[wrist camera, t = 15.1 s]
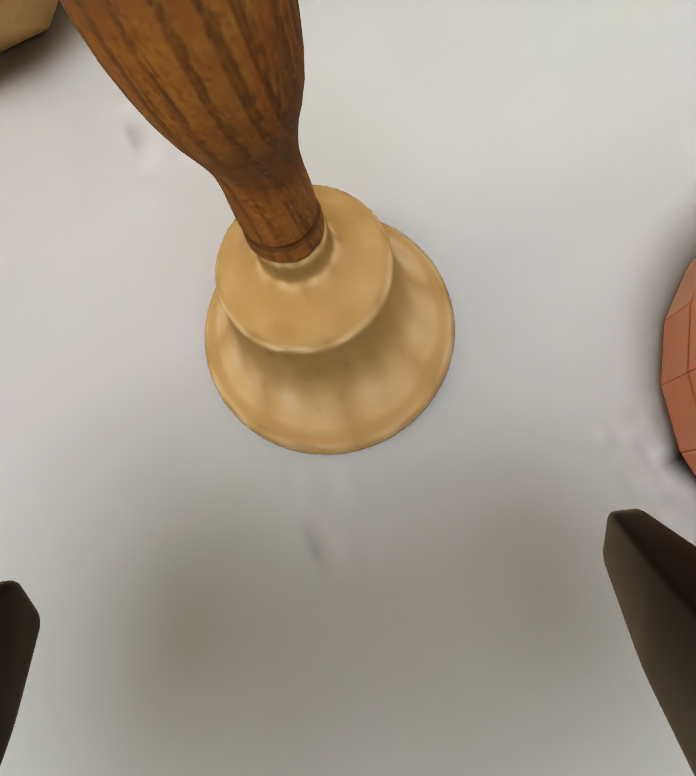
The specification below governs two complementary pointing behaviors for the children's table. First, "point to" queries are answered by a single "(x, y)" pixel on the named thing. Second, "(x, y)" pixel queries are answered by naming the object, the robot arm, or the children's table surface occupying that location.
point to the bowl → (682, 365)
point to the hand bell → (280, 229)
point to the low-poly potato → (24, 20)
